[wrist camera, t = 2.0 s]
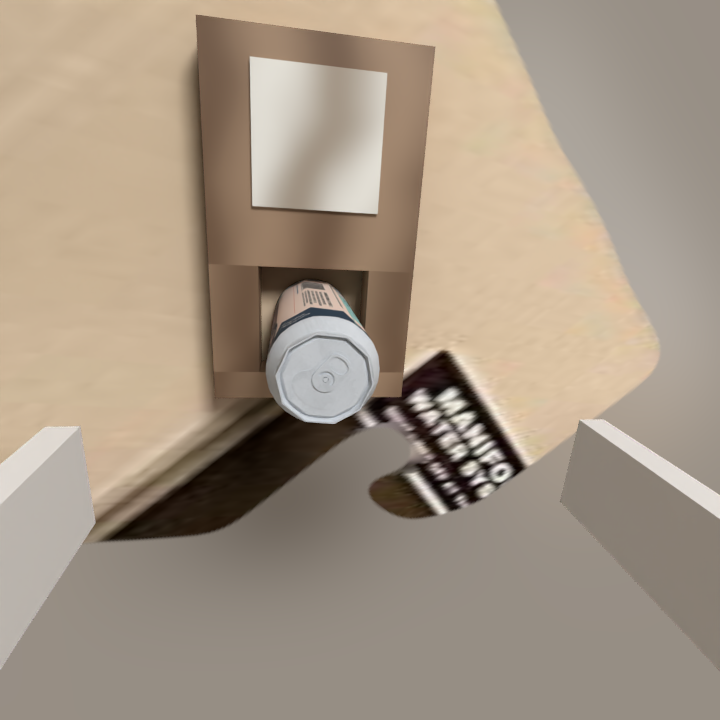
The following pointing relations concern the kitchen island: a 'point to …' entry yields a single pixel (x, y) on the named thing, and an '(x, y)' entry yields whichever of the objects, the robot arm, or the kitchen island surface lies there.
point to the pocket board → (309, 179)
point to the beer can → (319, 355)
